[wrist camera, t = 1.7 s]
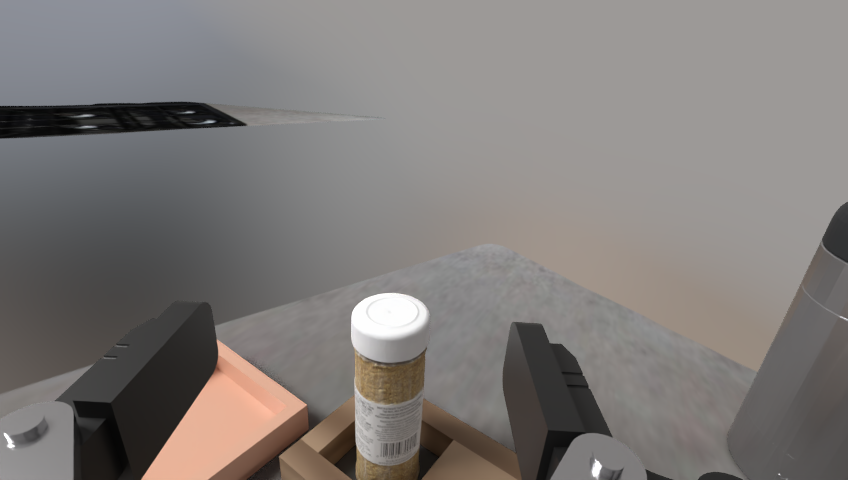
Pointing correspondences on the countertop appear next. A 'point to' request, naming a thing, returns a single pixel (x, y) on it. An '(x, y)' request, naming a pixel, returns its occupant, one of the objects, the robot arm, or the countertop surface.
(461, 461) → the walnut rack
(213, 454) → the terracotta tray
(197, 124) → the countertop surface
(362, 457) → the sprinkles bottle
